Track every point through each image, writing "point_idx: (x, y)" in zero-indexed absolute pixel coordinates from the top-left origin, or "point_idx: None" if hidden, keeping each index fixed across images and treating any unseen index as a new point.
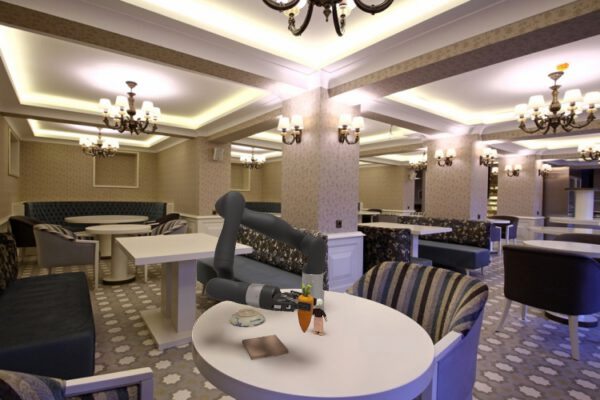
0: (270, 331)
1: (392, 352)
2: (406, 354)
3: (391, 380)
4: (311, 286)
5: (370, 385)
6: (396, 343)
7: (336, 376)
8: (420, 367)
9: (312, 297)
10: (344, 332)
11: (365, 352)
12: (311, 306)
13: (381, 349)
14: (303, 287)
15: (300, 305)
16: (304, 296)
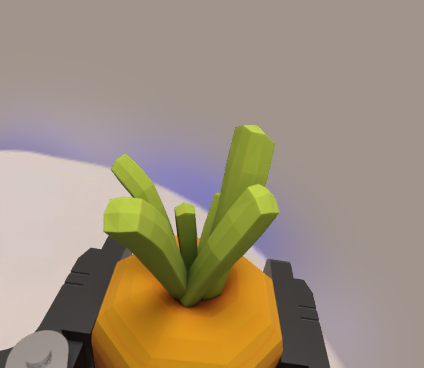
0: None
1: (61, 209)
2: (72, 188)
3: (201, 225)
4: (126, 156)
5: None
6: (4, 195)
7: None
8: None
9: (177, 236)
10: None
11: (60, 264)
12: (263, 271)
13: (41, 227)
14: (273, 205)
15: (321, 357)
16: (219, 292)
